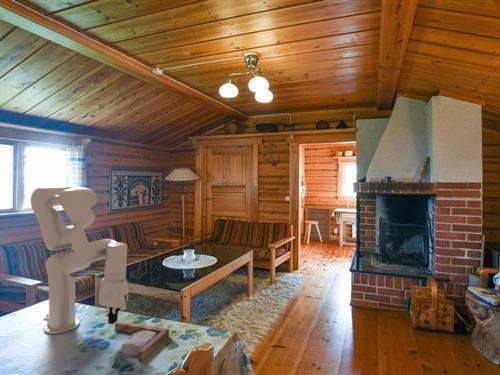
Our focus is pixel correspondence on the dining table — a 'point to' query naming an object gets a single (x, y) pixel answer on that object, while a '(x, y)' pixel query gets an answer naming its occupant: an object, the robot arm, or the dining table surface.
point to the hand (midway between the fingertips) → (112, 322)
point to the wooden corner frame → (133, 328)
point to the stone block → (137, 342)
